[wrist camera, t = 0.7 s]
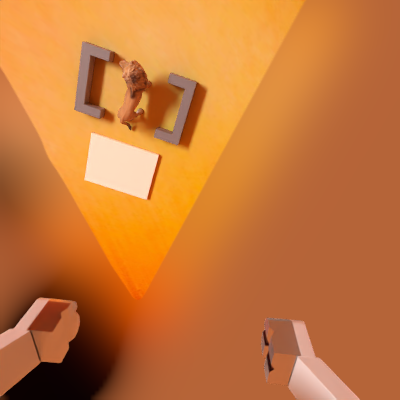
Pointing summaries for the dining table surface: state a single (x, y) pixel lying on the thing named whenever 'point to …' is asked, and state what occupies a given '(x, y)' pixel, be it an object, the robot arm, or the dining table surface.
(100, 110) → the grey bracket pair
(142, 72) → the lion figurine
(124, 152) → the ceramic tile
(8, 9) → the dining table surface
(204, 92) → the dining table surface
